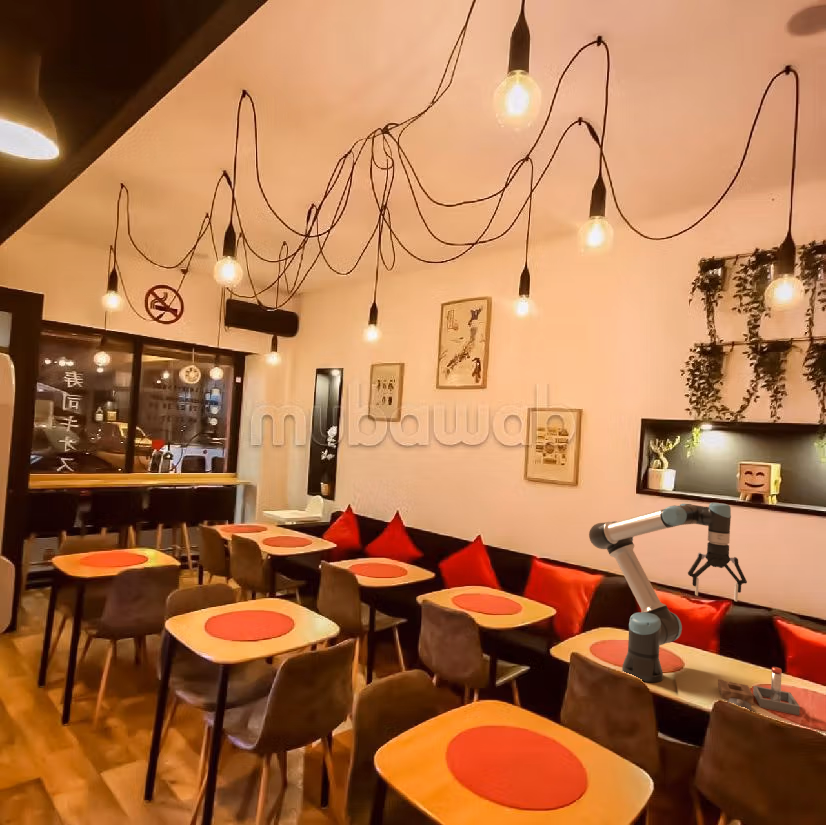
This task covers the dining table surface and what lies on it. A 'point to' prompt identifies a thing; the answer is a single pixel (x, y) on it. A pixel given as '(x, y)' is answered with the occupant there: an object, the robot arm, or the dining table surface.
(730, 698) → the tensioner block
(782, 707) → the tray
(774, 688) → the lock pin
